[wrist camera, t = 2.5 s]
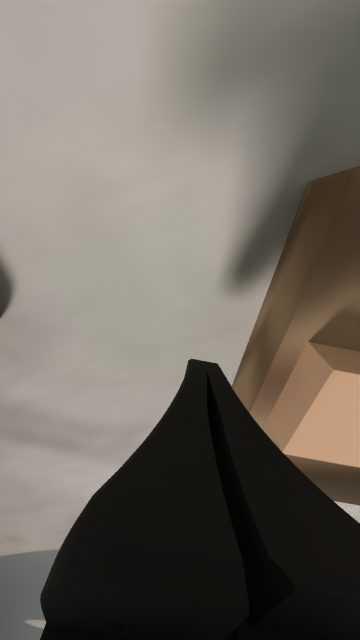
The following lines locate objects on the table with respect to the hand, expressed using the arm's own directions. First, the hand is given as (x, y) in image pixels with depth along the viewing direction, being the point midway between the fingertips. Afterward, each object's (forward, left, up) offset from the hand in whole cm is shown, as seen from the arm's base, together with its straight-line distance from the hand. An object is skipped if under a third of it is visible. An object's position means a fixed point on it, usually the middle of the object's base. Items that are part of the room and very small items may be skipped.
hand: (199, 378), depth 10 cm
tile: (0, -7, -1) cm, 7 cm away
